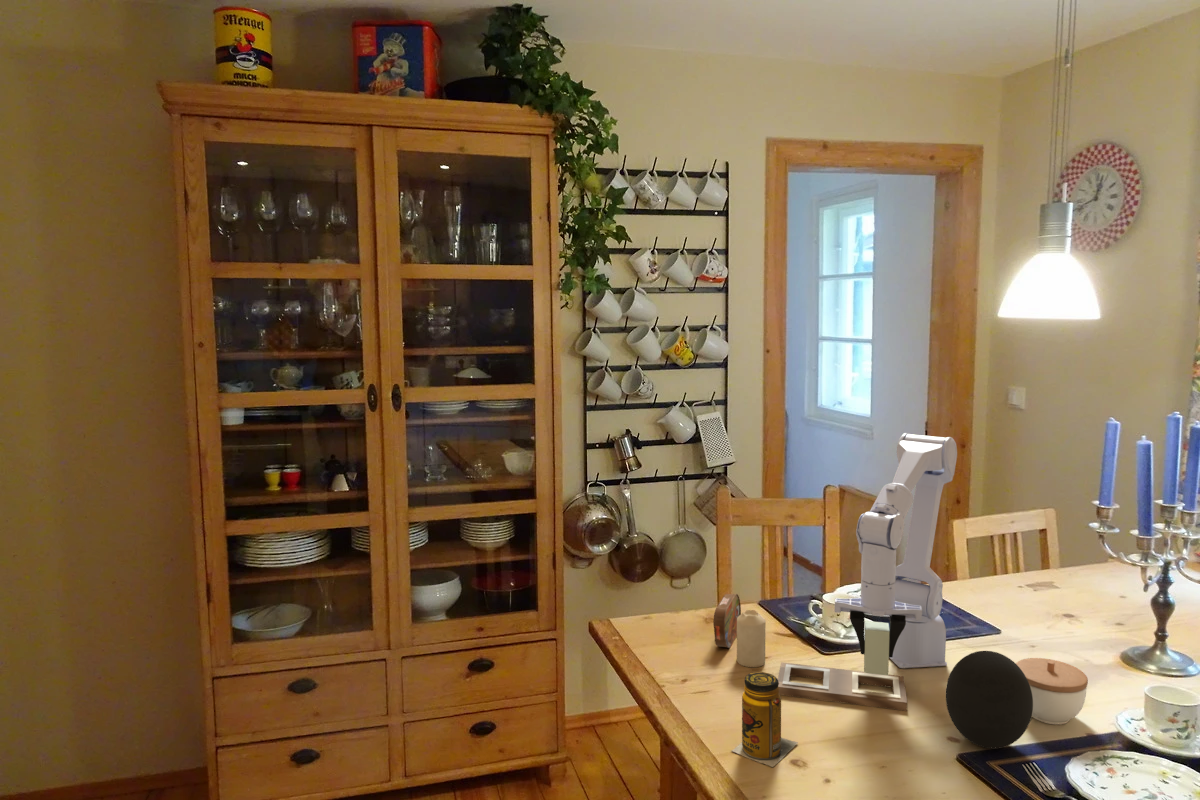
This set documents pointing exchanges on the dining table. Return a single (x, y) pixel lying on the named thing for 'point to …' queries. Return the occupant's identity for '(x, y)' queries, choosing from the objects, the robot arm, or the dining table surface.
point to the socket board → (842, 686)
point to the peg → (876, 648)
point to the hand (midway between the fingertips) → (876, 653)
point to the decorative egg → (989, 699)
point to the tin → (726, 620)
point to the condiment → (762, 720)
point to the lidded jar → (1054, 689)
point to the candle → (751, 639)
